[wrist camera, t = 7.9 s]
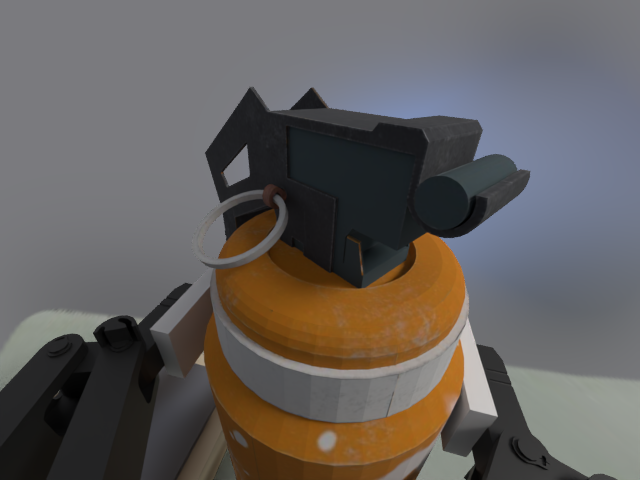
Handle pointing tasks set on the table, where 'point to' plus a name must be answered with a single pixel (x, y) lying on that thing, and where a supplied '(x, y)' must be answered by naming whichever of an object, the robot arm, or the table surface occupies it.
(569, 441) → the table surface
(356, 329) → the canister
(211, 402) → the plinth
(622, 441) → the table surface
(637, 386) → the table surface
